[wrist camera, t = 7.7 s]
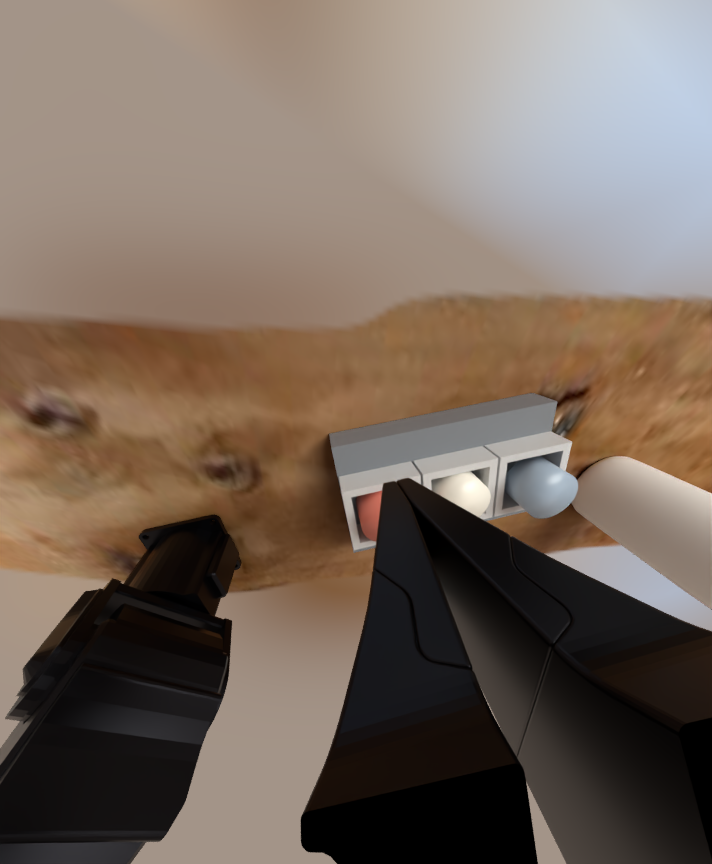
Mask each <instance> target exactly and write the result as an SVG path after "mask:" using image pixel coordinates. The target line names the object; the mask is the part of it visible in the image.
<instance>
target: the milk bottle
mask: <svg viewBox="0 0 712 864" xmlns="http://www.w3.org/2000/svg"><path fill="white" fill-rule="evenodd" d="M577 482H578V491H577V494H576V496H575V498H574V500H573V501H572V502H571V503H572V505H573V507H574V509H575V510H576V511H577V512H578V513H579V514H581V515H582V516H583V517H585V518H586V519H587V520H589V521H590V522H591V523H593V524H594V525H595V526H597V527H598V528H599V529H601V530H602V531H603V532H605V533H606V534H607V535H609V536H610V537H611V538H613V539H614V540H616V541H617V542H618V543H620V544H621V545H622V546H624V547H625V548H627V549H628V550H629V551H631V552H632V553H633V554H634V555H636V556H637V557H639V558H640V559H641V560H643V561H644V562H645V563H647V564H648V565H650V566H651V567H652V568H654V569H655V570H656V571H658V572H659V573H661V574H662V575H663V576H665V577H666V578H668V579H669V580H670V581H672V582H673V583H674V584H676V585H677V586H678V587H680V588H681V589H683V590H684V591H685V592H687V593H688V594H690V595H691V596H693V597H694V598H695V599H697V600H698V601H700V602H701V603H703V604H704V605H705V606H707V607H708V608H710V609H711V610H712V494H711V493H709V492H707V491H705V490H702V489H700V488H698V487H696V486H693V485H691V484H689V483H687V482H684V481H682V480H680V479H678V478H675V477H673V476H671V475H669V474H667V473H664V472H662V471H660V470H657V469H655V468H653V467H651V466H648V465H646V464H644V463H642V462H639V461H637V460H634V459H632V458H629V457H624V456H612V457H608V458H605V459H603V460H600V461H598V462H597V463H595V464H593V465H592V466H591V467H589V468H588V469H587V470H586V471H585V472H584V473H582V475H581V476H580V477H579V478H578V479H577Z"/></svg>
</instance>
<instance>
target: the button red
mask: <svg viewBox="0 0 712 864" xmlns="http://www.w3.org/2000/svg"><path fill="white" fill-rule="evenodd" d="M381 496H382V491H378V492H374V493H369V494H365V495H360V496H357V499H356V507H357V511H358V515H359V519H360V524H361V528H362V531H363V533H364V535H365V536H366V537H367V538H369V539H370V540H372V541H375V542H376V539H377V530H378V522H379V513H380V504H381Z"/></svg>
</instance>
